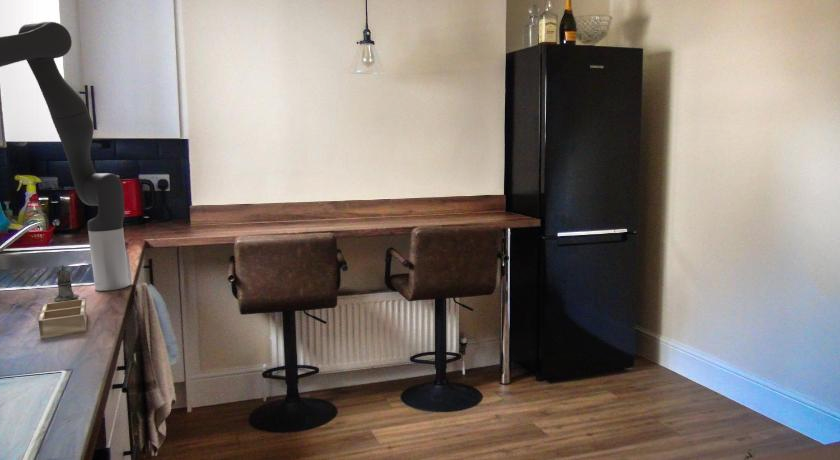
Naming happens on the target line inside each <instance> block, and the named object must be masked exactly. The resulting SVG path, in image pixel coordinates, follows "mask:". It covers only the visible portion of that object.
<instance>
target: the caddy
mask: <svg viewBox="0 0 840 460" xmlns="http://www.w3.org/2000/svg"><path fill="white" fill-rule="evenodd" d="M87 311H88V310H87V303H86V298H80V299H79V298H78V300H70V301H62V302H55V301H53V302H47V303H44V304H43V306H42V308H41V312H40V315H39V318H38V329H39V337H40V339H48V338H52V337H60V336H68V335H72V334H73V335H74V333H75V334H81V333H86V331H87V318H88V312H87Z"/></svg>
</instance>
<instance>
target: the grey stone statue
mask: <svg viewBox="0 0 840 460" xmlns="http://www.w3.org/2000/svg"><path fill="white" fill-rule="evenodd" d="M70 273H71V272H70V270H69V269H68V268H65V266H64V265H63V264H62V265H60V269H58V270H56V277H57V278H56V279H57V283H56V286H57V289H58V295H57V296H56V297H54V298H52V299H53V302H62V301H70V300H78V299H79V297H80V295H79V294H75V293H74V291H73V289H72V288H73V287H72V283H73V281H71V274H70Z"/></svg>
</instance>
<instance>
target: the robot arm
mask: <svg viewBox="0 0 840 460" xmlns="http://www.w3.org/2000/svg"><path fill="white" fill-rule="evenodd" d="M71 47H72V36H71V34H70V31H68V29H67V28H66V27H65V26H64V25H63V24H61V23H59V22H56V21H50V20H49V21H39V22H30V23H26V24H23V25H22V26H21V27H20V28H19V30H18V33H17V34H11V35H3V36H0V68H1V67H5V66H8V65H11V64H15V63H19V62H23V61H26V63H27V64H28V67H29V68H30V71H32V74H33V75H34V79H36V82H37V85H38V87H39V88H40V89H39V90H40V92H41V94H42V97H43V98H44V101H45V104H46V106H47V109H48V111H49V114H50V117H51V119H52V122H53V126H54V128H55V130H56V132H57V135H58V137H59V139H60V142H61V146H62V148H63V150H64V153H65V156H66V160H67V163H68V165H69V169H70V173H71V177H72V181H73V184H74V187H75V191H76V194H77V196H78V198H79V199H80V200H81V202H82V203H84V204H85V205H87V206H90V207H91V206H93V207H94V206H96V207H98V209H97V215H96V216H95V217H92V218H91V219H89V220H88V221H87V232H88V233H87V234H88V241H89V247H90V248H89V249H90V256H91V266H92V275H93V283H94V290H96V291H99V292H104V291H106V292H107V291H115V290H121V289H125V288H127V287H128V288H129V286H130V285H132V284H133V283H132V274H131V264H130V254H129V252H127V250H126V243H125V242H126V241H125V234H124V233H125V232H124V219H125V199H124V188H123V183H122V181H121V179H120V177H118V176H117V174H114V173H108V172H105V173H104V172H103V173H101V172H100V173H97V172H96V169H95V167H94V164H93V161H92V159H91V158H92V157H91V147H92V143H93V138H94V124H93V120H92V117H91V115H90V112H89V109H88V107H87V104H86V102H85V100H84V99H83V98H82V97H81V96H80V94H79V93H78V92H77V91H76V90H75V89H74V88H73V87H72V86H71V85H70V84H69V83H68V82H67V81H66V80H65V78H64V77H63V75H62V74H61V72H60V71H59V68H58V66H57V63H56V61H55V59H58V58H59V59H60V58H62V57H64V56H66V55H67V54H68V53H69V51H70V50H71Z"/></svg>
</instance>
